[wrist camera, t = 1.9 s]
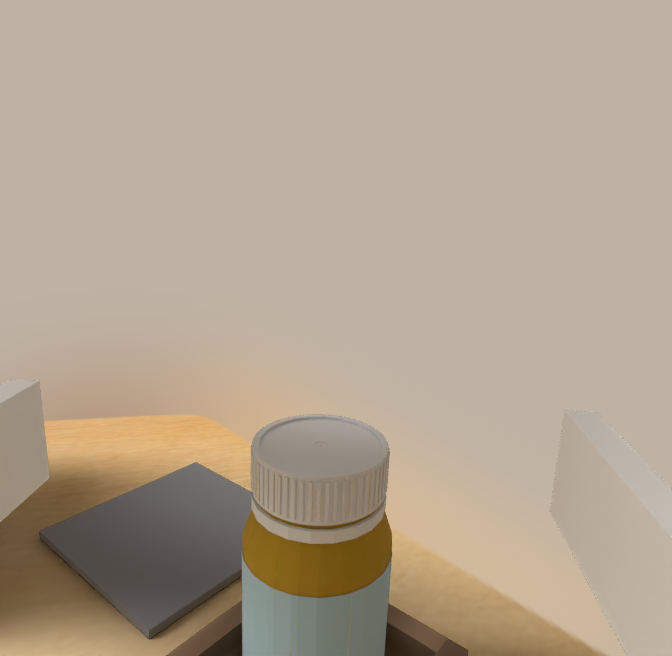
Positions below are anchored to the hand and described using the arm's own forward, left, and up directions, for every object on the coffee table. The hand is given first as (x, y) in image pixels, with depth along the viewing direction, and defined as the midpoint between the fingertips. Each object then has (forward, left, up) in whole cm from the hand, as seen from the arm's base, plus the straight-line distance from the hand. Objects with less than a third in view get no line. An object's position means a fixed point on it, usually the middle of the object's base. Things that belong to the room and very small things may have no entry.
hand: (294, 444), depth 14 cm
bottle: (-6, +8, -20) cm, 22 cm away
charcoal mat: (-23, +12, -20) cm, 33 cm away
